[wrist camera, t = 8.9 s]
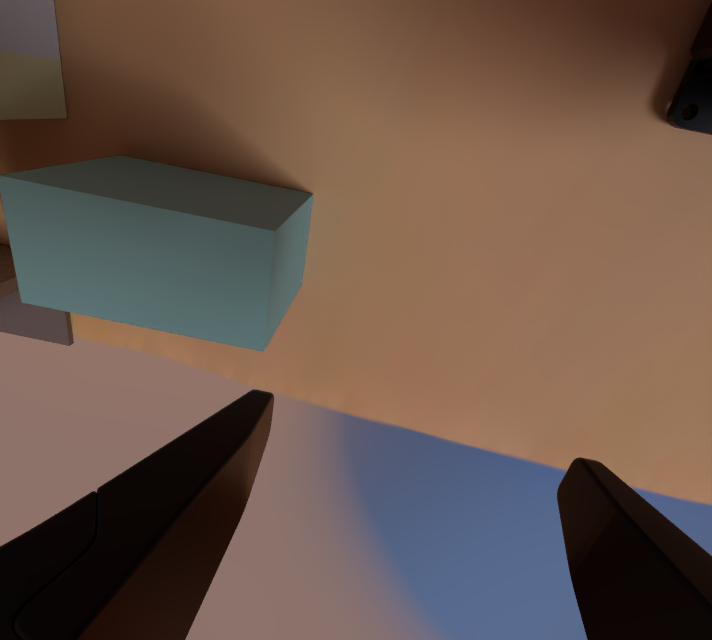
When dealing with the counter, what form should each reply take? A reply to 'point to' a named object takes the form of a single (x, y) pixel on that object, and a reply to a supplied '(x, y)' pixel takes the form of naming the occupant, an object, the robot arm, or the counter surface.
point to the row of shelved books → (30, 61)
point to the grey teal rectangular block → (158, 246)
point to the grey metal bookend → (28, 309)
